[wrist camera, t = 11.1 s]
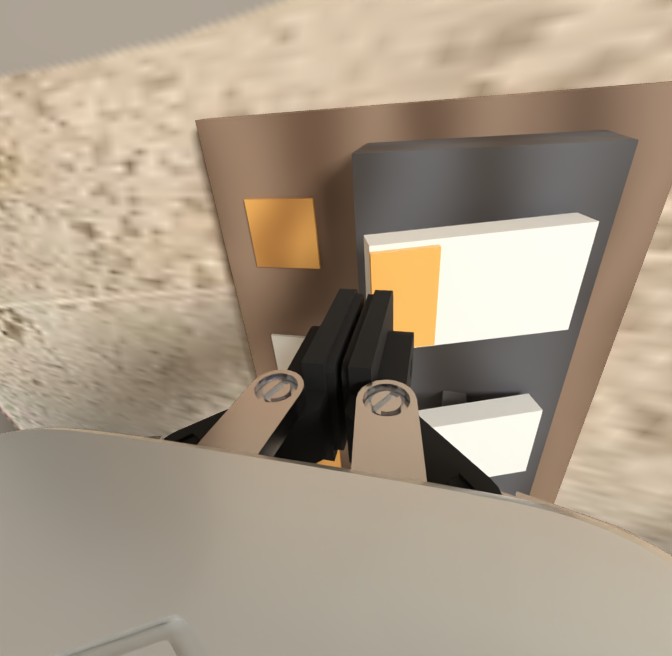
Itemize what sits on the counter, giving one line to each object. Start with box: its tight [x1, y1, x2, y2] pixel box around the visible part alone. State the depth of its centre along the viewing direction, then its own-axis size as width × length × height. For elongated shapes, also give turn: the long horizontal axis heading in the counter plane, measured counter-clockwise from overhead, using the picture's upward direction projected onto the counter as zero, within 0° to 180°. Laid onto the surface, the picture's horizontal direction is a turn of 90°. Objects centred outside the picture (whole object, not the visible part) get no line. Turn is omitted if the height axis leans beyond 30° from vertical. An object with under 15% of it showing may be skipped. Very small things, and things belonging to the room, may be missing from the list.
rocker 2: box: [418, 394, 543, 477], centre depth 19 cm, size 8×4×1 cm, turn 95°
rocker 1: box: [364, 213, 599, 348], centre depth 14 cm, size 8×4×1 cm, turn 95°
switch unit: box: [195, 81, 672, 504], centre depth 23 cm, size 22×30×6 cm
